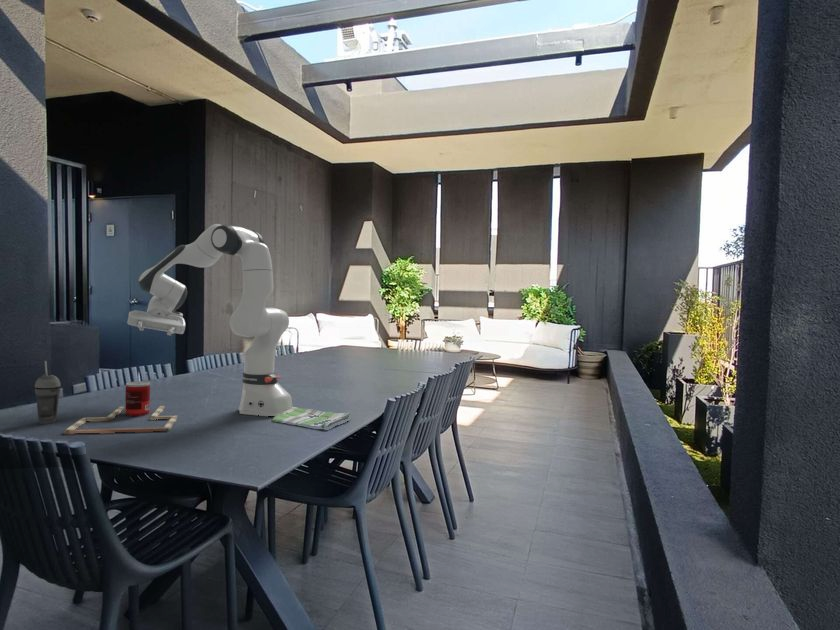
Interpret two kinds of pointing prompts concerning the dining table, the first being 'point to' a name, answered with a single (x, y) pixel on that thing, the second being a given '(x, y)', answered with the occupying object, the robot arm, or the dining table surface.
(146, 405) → the canned food
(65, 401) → the dining table surface
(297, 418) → the dish towel
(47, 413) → the beverage cup
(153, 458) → the dining table surface
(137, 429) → the t outline
